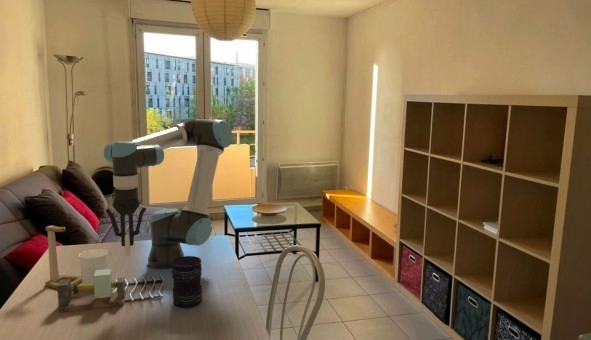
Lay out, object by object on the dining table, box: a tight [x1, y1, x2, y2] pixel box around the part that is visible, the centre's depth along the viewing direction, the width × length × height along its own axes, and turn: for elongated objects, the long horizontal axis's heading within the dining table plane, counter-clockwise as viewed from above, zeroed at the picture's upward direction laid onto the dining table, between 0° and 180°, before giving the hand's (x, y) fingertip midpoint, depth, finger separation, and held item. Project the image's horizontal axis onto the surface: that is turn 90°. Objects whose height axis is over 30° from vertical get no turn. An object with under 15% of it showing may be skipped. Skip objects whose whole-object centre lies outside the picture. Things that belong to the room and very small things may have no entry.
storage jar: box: [171, 255, 203, 310], centre depth 146 cm, size 10×10×15 cm
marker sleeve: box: [93, 268, 114, 297], centre depth 144 cm, size 5×5×7 cm
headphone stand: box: [44, 225, 82, 290], centre depth 158 cm, size 10×11×22 cm
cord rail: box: [56, 277, 127, 313], centre depth 144 cm, size 20×8×8 cm, turn 107°
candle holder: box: [78, 248, 108, 285], centre depth 159 cm, size 10×10×12 cm
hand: (128, 254), depth 145 cm, fingers closed
